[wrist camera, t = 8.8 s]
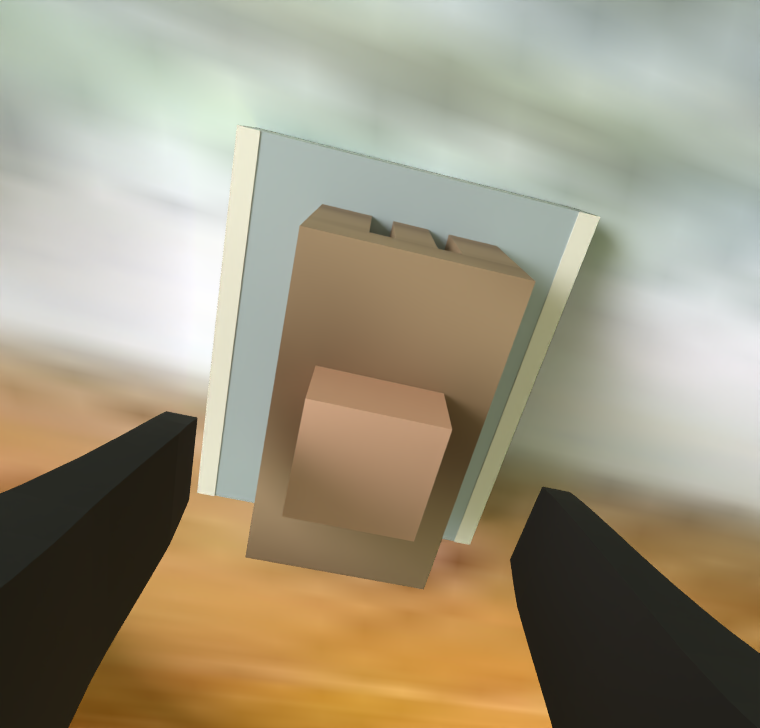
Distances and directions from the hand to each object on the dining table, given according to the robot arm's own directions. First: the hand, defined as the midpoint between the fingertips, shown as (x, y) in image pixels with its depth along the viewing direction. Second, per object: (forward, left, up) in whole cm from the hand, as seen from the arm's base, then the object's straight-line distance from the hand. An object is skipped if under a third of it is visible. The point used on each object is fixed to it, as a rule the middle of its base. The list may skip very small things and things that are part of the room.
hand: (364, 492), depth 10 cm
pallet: (0, 0, -6) cm, 6 cm away
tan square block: (0, 0, -2) cm, 2 cm away
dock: (0, 0, -8) cm, 8 cm away
